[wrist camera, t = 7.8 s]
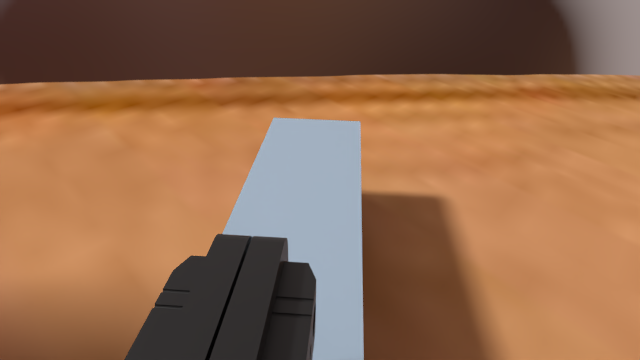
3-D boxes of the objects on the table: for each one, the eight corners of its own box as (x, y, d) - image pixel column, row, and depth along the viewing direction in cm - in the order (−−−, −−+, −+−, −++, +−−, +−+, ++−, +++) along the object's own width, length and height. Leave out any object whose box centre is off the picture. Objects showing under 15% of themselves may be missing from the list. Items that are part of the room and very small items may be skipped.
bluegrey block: (364, 395, 11) (360, 121, 27) (157, 380, 11) (273, 117, 27) (353, 510, 14) (355, 196, 29) (182, 496, 14) (275, 192, 30)
